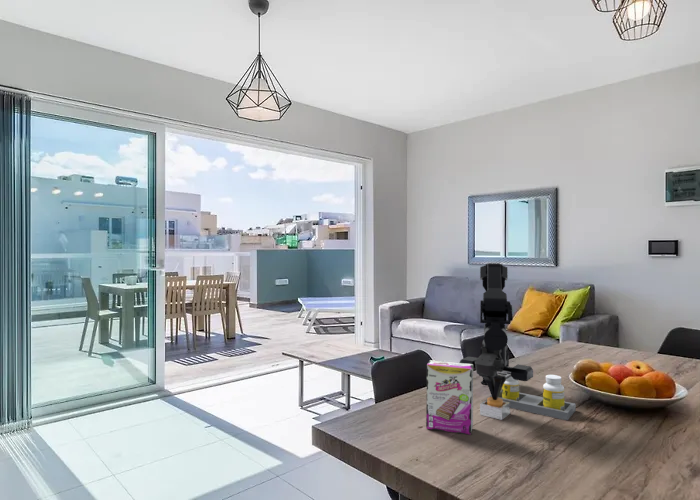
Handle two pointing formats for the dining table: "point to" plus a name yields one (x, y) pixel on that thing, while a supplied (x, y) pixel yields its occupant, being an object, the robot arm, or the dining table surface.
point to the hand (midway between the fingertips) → (495, 399)
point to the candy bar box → (449, 397)
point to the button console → (495, 410)
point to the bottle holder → (539, 406)
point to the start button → (495, 402)
